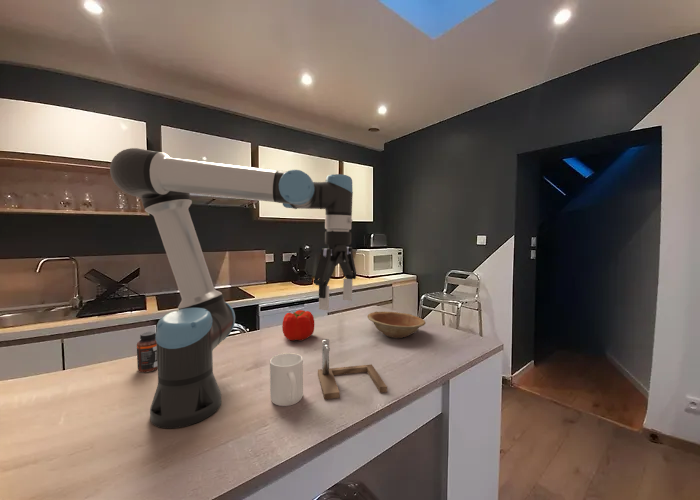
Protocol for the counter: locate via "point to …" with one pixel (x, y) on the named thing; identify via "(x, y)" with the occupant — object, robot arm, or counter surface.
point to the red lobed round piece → (298, 325)
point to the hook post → (325, 356)
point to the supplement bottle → (147, 352)
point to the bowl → (396, 323)
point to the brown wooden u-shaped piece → (329, 381)
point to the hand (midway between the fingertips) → (336, 304)
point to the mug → (286, 379)
